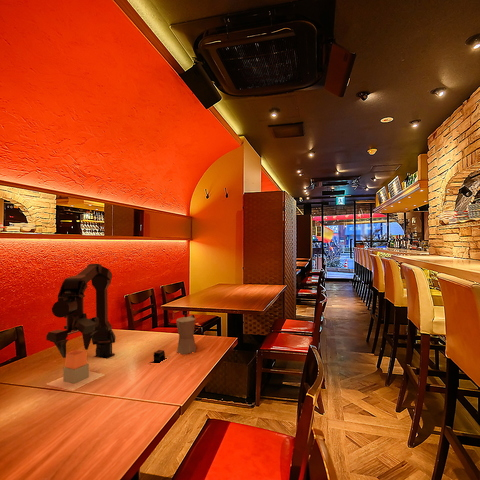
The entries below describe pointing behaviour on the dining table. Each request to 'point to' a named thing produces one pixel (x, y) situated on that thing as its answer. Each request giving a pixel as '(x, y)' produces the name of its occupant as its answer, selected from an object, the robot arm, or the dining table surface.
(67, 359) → the orange block
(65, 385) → the base plate
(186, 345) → the coffeepot
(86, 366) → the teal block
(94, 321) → the robot arm
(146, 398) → the dining table surface
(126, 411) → the dining table surface
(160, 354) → the dark piece
